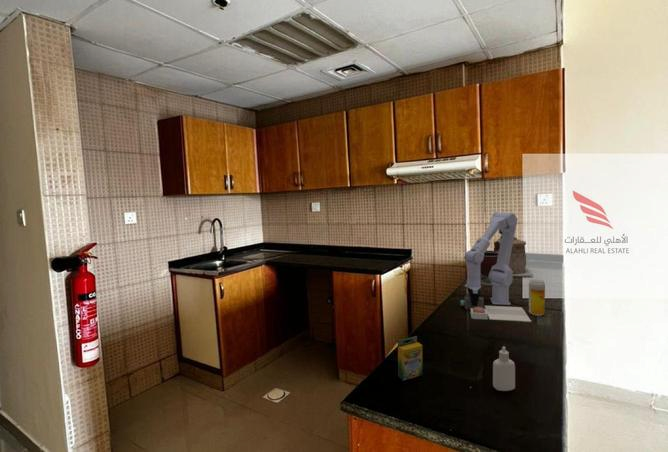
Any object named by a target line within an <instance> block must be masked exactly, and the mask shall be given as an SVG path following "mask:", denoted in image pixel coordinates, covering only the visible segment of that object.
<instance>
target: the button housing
mask: <svg viewBox="0 0 668 452" xmlns="http://www.w3.org/2000/svg"><path fill="white" fill-rule="evenodd" d="M469 310H470V317H471V319H473V320H489V317H488V314H487V311H486V309H485V308H484V309H483V311H484V313H474V308H470V309H469Z"/></svg>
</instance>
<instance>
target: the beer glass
mask: <svg viewBox="0 0 668 452" xmlns="http://www.w3.org/2000/svg"><path fill="white" fill-rule="evenodd" d="M545 301H546V284H545V281H544V280H541V279H537V278H536V279H534V278H532V279H530V280H529V282H528V313H529V314H530V315H531V314H532V315H531V316H534V315H535V317H542V315H545V313H546V312H545V310H546V308H545V306H546V305H545V303H546V302H545Z"/></svg>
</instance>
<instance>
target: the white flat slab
mask: <svg viewBox="0 0 668 452" xmlns="http://www.w3.org/2000/svg"><path fill="white" fill-rule="evenodd" d="M484 309H486V311H487V314H488V320H491V321H494V320H495V321H508V322H509V321H510V322H525V323H531V322H532V320H531V319H530V317H529V316H528V314H527V313H526V311H525V310H524V308H523V307H522V306H521V307H520V306H504V305H500V306H499V305H484Z"/></svg>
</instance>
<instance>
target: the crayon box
mask: <svg viewBox="0 0 668 452" xmlns="http://www.w3.org/2000/svg"><path fill="white" fill-rule="evenodd" d="M406 341H408V342H406ZM397 365H398V366H397V372H398V374H397V375H398V378H400V379H401V381H407V380H411V379H414V378H418V377H421V376H423V374H424V372H423V368H424V367H423V344H421V343H420V342H418V336H417V335H416V336H411V337H407V338H403V339H400V340H399V339H398V340H397Z"/></svg>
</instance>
